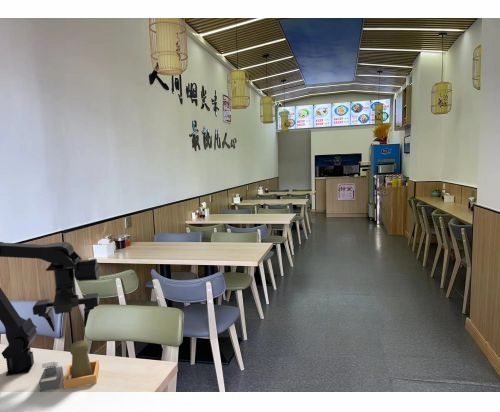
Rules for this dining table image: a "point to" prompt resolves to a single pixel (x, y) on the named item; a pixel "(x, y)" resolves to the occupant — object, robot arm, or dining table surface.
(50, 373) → the breaker box
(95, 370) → the orange square tray
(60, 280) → the robot arm
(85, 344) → the olive vase
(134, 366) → the dining table surface
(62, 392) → the dining table surface
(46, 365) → the breaker rocker
